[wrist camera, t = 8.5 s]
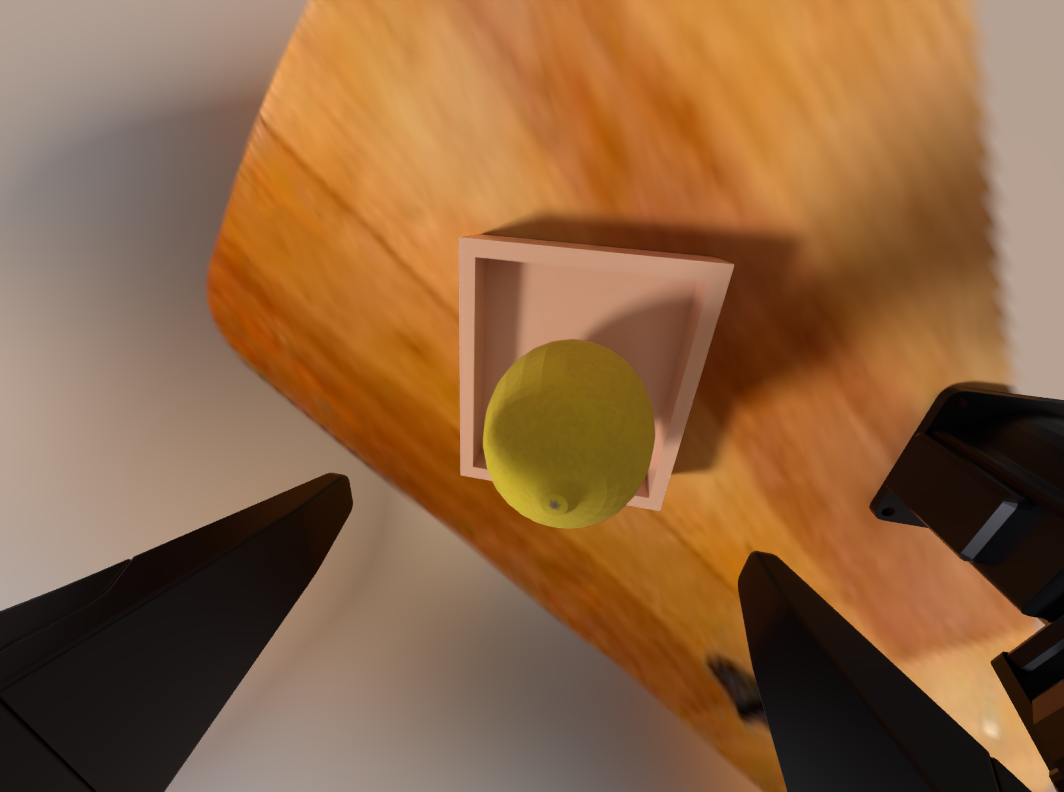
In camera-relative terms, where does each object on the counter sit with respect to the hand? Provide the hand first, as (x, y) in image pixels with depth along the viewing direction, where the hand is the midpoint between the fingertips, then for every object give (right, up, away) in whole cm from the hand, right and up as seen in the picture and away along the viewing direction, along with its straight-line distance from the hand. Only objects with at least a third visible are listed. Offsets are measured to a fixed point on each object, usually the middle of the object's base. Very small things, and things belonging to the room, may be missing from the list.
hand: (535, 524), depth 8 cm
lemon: (+2, +4, +8) cm, 9 cm away
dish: (+2, +4, +9) cm, 10 cm away
